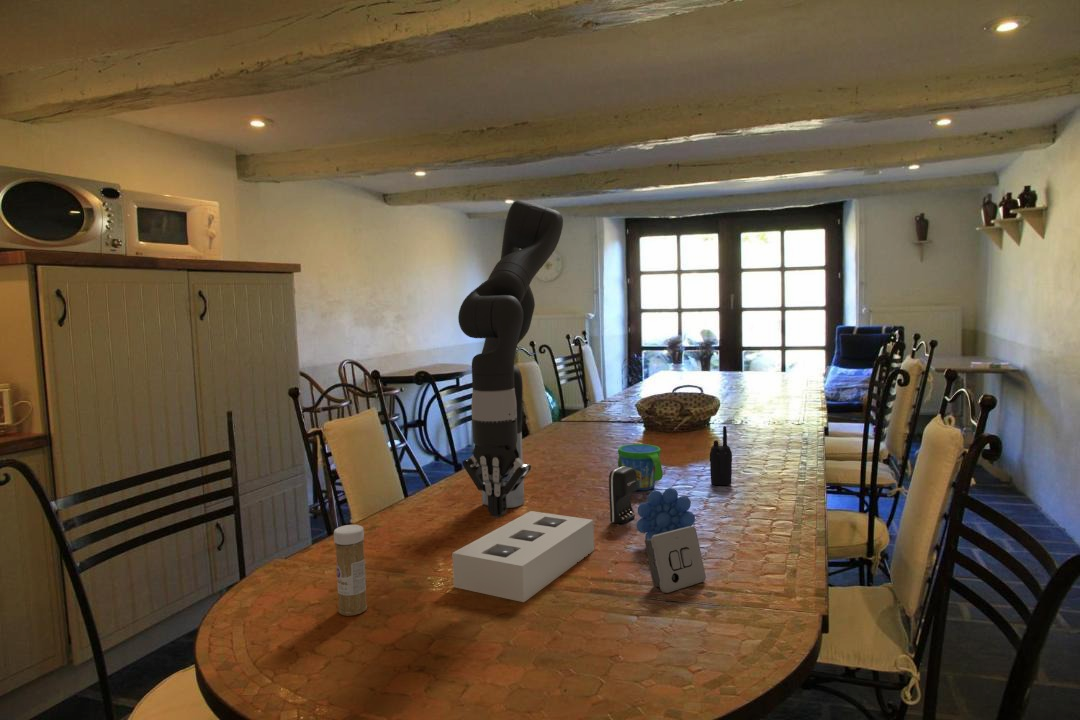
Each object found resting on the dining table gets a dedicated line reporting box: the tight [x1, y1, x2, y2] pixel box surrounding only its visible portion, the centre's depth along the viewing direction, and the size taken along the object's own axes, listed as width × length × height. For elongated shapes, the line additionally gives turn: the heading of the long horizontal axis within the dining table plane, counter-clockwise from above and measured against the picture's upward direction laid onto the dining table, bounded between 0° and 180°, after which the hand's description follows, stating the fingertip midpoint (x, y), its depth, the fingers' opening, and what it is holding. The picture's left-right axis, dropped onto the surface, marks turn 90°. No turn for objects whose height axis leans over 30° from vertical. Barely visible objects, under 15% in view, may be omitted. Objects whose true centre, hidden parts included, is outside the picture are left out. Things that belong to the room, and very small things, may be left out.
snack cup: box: [617, 443, 664, 491], centre depth 180 cm, size 16×10×10 cm
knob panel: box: [451, 510, 595, 603], centre depth 128 cm, size 14×26×6 cm, turn 150°
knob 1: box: [488, 546, 514, 558], centre depth 121 cm, size 4×4×5 cm
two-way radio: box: [709, 425, 733, 486], centre depth 179 cm, size 6×4×15 cm
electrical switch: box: [644, 525, 707, 594], centre depth 119 cm, size 9×5×9 cm, turn 121°
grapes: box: [636, 487, 696, 541], centre depth 136 cm, size 12×7×12 cm, turn 61°
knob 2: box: [515, 532, 539, 542], centre depth 128 cm, size 4×4×5 cm
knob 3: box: [539, 519, 562, 527], centre depth 136 cm, size 4×4×5 cm
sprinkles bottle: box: [333, 524, 368, 617], centre depth 112 cm, size 5×5×14 cm
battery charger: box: [608, 466, 638, 524], centre depth 154 cm, size 7×4×11 cm, turn 144°
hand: (497, 515), depth 120 cm, fingers closed
